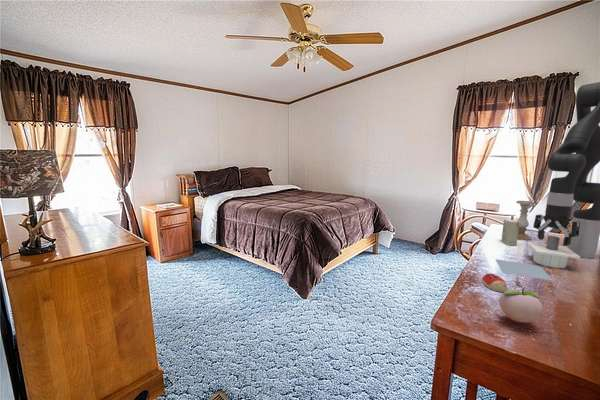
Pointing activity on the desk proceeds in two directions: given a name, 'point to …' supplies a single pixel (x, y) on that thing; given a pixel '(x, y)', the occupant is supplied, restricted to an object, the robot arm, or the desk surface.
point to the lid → (553, 248)
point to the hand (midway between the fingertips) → (552, 242)
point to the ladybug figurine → (494, 282)
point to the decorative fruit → (521, 305)
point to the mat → (523, 269)
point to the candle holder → (523, 220)
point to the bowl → (550, 260)
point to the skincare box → (510, 232)
